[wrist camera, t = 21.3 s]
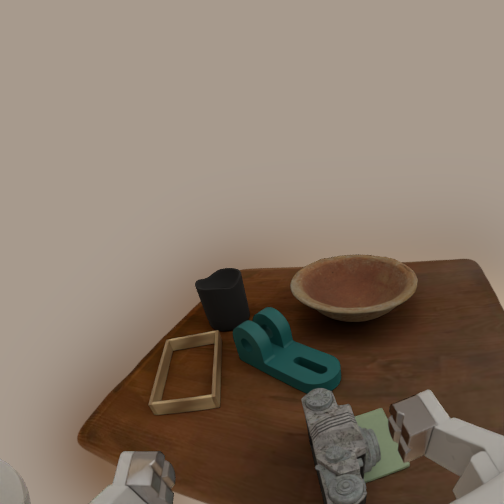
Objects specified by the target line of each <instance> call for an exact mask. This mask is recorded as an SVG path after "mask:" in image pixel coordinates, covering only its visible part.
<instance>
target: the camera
mask: <svg viewBox="0 0 504 504" xmlns="http://www.w3.org/2000/svg"><path fill="white" fill-rule="evenodd" d="M302 405H303V409H304V413H305V418H306V423H307V428H308V434H309V442H310V446H311V450H312V454H313V458H314V463H315V468H316V471H317V475H318V479H319V484H320V488H321V492H322V496H323V501H324V504H365V502H366V495H367V492H366V483H365V481H364V473H367V472H370V471H371V470H372V467H373V466H375V465H376V463H377V462H379V461H380V459H381V452H380V447H379V443H378V440H377V437H376V435H375V433H374V431H373V430H372V429H366V428H361V427H360V426H358V424H357V422H356V419H355V417H354V414H353V412H352V409H351V406H350V405H349V404H346V405H339V406H338V405H337V403H336V400H335V398H334V395H333V393H332V391H329V390H327V389H324V388H317V389H314V390H311V391H310V392H309V393H308V394H307V395H305V396H304V397H303V398H302Z"/></svg>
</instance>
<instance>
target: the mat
mask: <svg viewBox="0 0 504 504" xmlns="http://www.w3.org/2000/svg"><path fill="white" fill-rule="evenodd" d="M355 419H356V422H357V424H358V426H360V427H361V428H366V429H372V430H373V431H374V433H375V435H376V437H377V440H378V443H379V447H380V452H381V459H380V461H379V462H377V463H376V465H375V466H373V467H372V470H371V471H370V472H367V473H364V481H365V483H366V482H369V481H372V480H375V479H378V478H381V477H384V476H387V475H389V474H392V473H395V472H397V471H400V470H402V469H405V468H407V467H409V466H410V464H409V462H406V463H403V461H402V459H401V456H400V454H399V452H398V443H396V442H394V441H393V440H392V437H391V435H390V432H389V427H388V419H387V417H386V415H385V413H384V411H383V409H382V408H380V409H377V410H374V411H371V412H368V413H365V414H362V415H358V416H355Z"/></svg>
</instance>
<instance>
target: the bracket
mask: <svg viewBox="0 0 504 504" xmlns="http://www.w3.org/2000/svg"><path fill="white" fill-rule="evenodd" d="M233 338H234V341H235V344H236V348H237V351H238V354H239V357H240V359H241V360H242V361H244V362H246V363H248V364H250V365H252V366H254V367H255V368H257V369H259V370H261V371H263V372H265V373H267V374H269V375H271V376H272V377H274V378H276V379H278V380H280V381H282V382H284V383H286V384H288V385H290V386H292V387H294V388H296V389H298V390H300V391H302V392H304V393H307V394H308V393H309V392H310V391H311V390H314V389H317V388H324V389H327V390H329V391H332V390H333V389H335V388H336V387H337V386H338V384H339V383H340V381H341V369H340V363H339V361H338V359H337V358H335V357H334V356H332V355H329V354H326V353H324V352H321V351H318V350H316V349H313V348H310V347H308V346H305V345H303V344H300V343H297V342H295V341H293V339H292V334H291V329H290V326H289V324H288V322H287V320H286V319H285V317H284V316H283V315H282V314H281V313H280V312H279V311H278V310H276V309H274V308H271V307H266V308H264V309H263V310H261V311H260V312H258V313H257V314H256V315H254V317H253V321H250V320H247V321H245V322H243V323H242V324H240V325H239V326H237V327H236V328H234V330H233Z"/></svg>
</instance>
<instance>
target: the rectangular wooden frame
mask: <svg viewBox="0 0 504 504" xmlns="http://www.w3.org/2000/svg"><path fill="white" fill-rule="evenodd" d="M213 343H215V348H214V363H213V380H212V395H205V396H198V397H191V398H183V399H175V400H167V401H161V399H162V395H163V390H164V386H165V382H166V378H167V373H168V369H169V365H170V361H171V357H172V353H173V351H175V350H181V349H186V348H192V347H198V346H203V345H208V344H213ZM221 354H222V339H221V336H220V333H219V330H216V331H211V332H206V333H201V334H195V335H190V336H185V337H179V338H174V339H168V340H166V343H165V347H164V350H163V354H162V357H161V361H160V364H159V368H158V371H157V375H156V378H155V382H154V386H153V389H152V393H151V397H150V401H149V404H148V405H149V407H150V408H151V410H152V412H153V413H154V415H162V414H172V413H181V412H190V411H198V410H205V409H212V408H219V407H220V388H221Z"/></svg>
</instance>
